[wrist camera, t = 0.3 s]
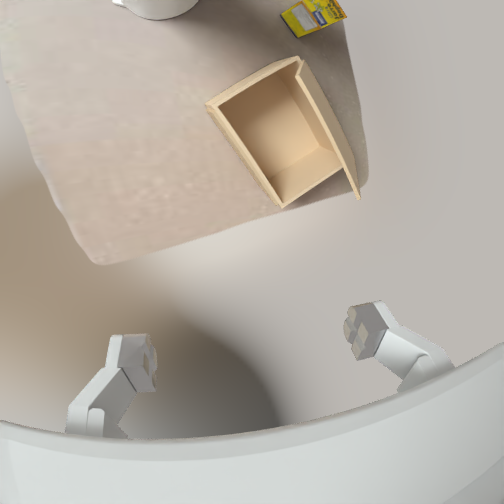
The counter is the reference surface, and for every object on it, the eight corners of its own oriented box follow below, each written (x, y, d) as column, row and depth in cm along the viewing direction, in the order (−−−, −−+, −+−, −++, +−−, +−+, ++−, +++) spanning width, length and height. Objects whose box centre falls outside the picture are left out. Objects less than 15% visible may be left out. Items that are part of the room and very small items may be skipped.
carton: (202, 105, 47) (208, 107, 37) (273, 62, 45) (298, 55, 35) (260, 187, 58) (279, 210, 48) (322, 146, 56) (353, 160, 46)
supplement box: (319, 27, 43) (348, 17, 33) (296, 38, 43) (322, 29, 34) (303, 3, 39) (329, -11, 30) (278, 14, 40) (301, 0, 31)
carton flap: (294, 76, 27) (298, 75, 27) (301, 60, 36) (304, 59, 35) (357, 200, 37) (361, 199, 36) (351, 155, 45) (353, 154, 45)
